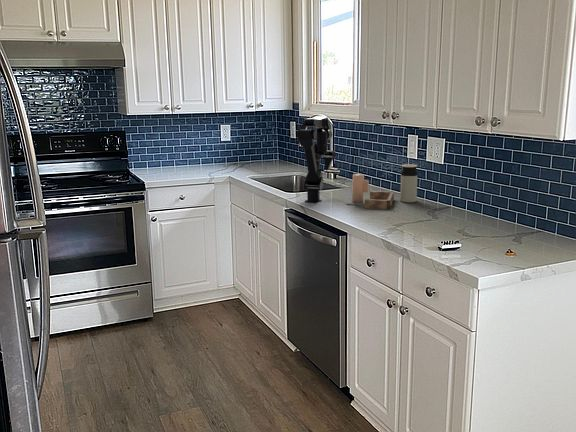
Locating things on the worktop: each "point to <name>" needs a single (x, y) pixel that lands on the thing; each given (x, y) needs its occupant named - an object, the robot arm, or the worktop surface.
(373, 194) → the cradle
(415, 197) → the travel mug
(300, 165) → the worktop surface
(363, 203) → the mat
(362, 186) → the tan rounded upright piece
